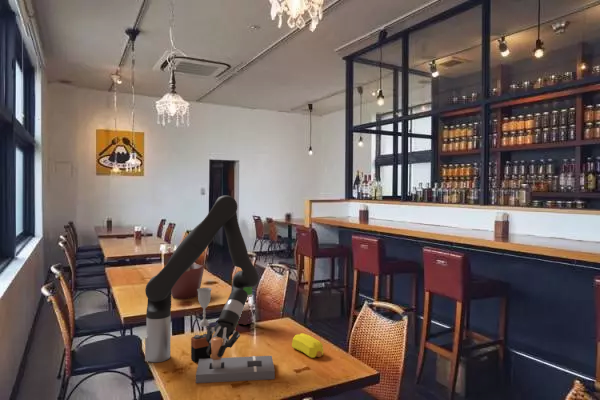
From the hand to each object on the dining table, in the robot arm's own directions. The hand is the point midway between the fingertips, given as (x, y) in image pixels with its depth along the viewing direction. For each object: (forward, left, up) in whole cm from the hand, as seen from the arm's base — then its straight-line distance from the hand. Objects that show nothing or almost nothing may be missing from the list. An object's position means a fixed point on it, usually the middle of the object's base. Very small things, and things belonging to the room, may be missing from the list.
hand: (213, 355), depth 156 cm
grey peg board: (+8, +2, -8) cm, 11 cm away
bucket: (-25, +118, -8) cm, 120 cm away
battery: (-6, +16, -8) cm, 18 cm away
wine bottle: (+12, +59, -8) cm, 60 cm away
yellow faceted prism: (+38, +18, -8) cm, 43 cm away
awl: (+1, +2, -7) cm, 7 cm away
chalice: (-8, +59, -8) cm, 60 cm away
